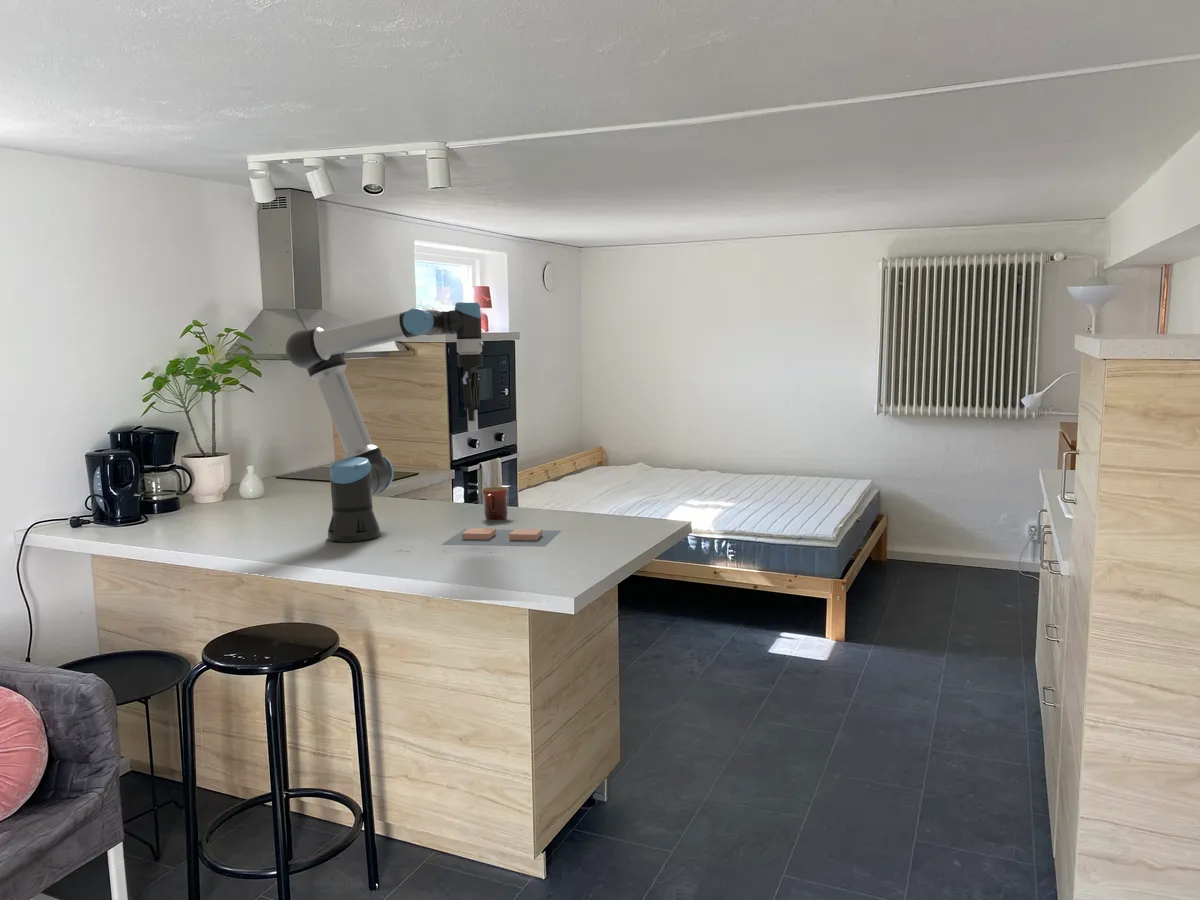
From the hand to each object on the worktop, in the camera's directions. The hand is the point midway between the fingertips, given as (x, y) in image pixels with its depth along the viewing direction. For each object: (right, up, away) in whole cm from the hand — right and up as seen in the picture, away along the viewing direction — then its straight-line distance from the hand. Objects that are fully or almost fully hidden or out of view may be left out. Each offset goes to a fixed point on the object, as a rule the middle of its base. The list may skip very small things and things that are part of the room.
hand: (473, 431), depth 267 cm
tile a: (+4, -30, -10) cm, 32 cm away
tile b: (+18, -30, -13) cm, 37 cm away
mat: (+11, -32, -14) cm, 37 cm away
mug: (+5, -29, +15) cm, 33 cm away
